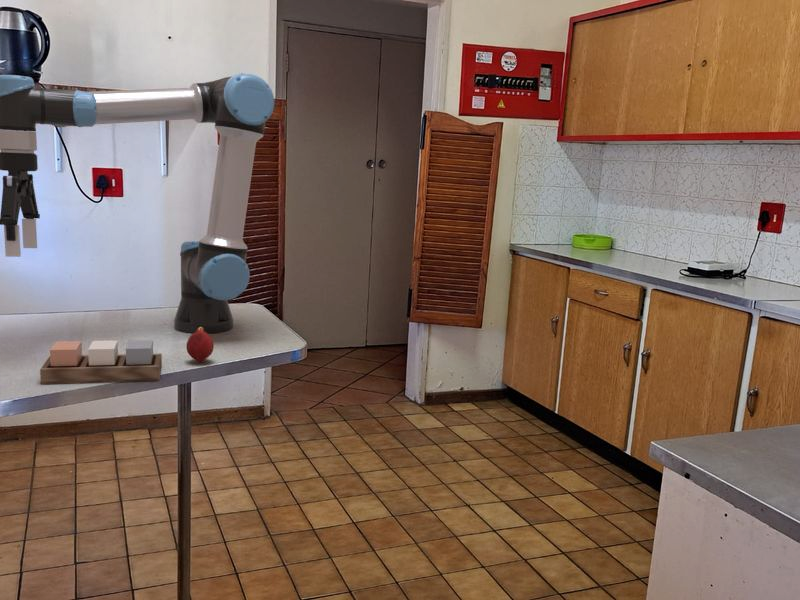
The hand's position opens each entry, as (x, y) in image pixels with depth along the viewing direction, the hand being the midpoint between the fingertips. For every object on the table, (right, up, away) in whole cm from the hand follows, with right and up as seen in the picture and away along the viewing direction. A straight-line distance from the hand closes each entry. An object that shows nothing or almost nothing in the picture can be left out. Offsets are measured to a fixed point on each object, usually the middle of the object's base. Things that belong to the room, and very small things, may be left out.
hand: (22, 252), depth 159 cm
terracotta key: (+14, -23, -10) cm, 29 cm away
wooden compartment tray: (+21, -26, -8) cm, 34 cm away
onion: (+37, -24, +5) cm, 45 cm away
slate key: (+28, -23, -7) cm, 36 cm away
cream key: (+21, -23, -8) cm, 32 cm away
